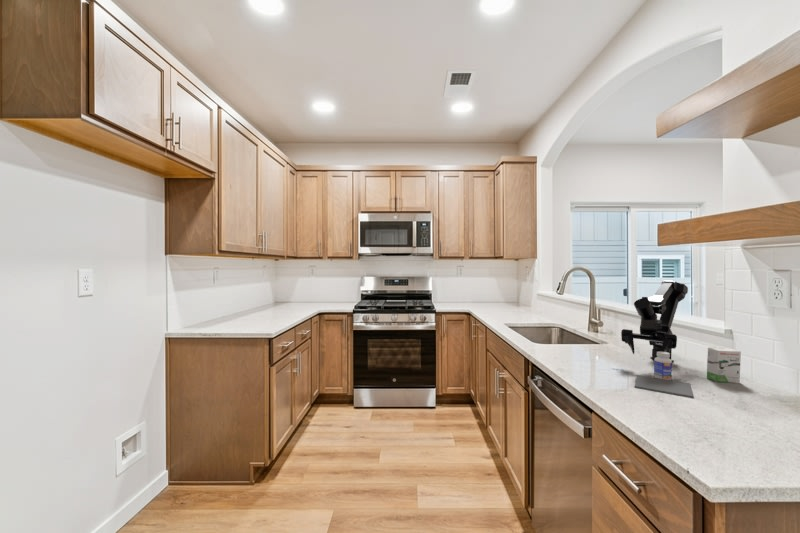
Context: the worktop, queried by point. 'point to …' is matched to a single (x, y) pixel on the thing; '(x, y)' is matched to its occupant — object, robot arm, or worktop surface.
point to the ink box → (723, 364)
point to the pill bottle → (663, 366)
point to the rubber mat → (664, 386)
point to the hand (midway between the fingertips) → (647, 355)
